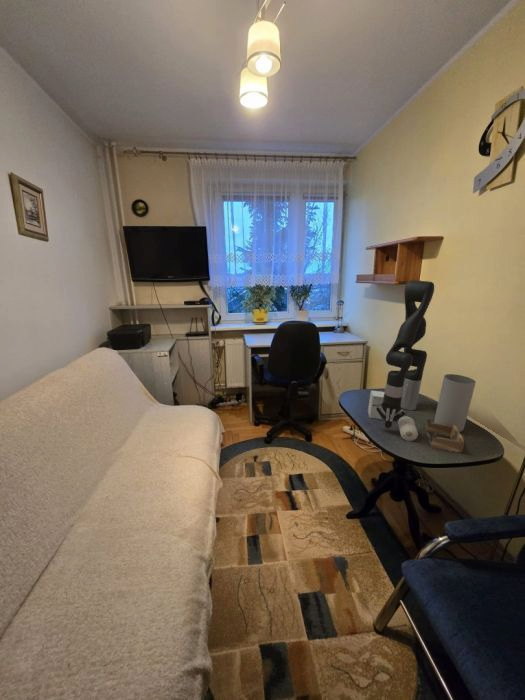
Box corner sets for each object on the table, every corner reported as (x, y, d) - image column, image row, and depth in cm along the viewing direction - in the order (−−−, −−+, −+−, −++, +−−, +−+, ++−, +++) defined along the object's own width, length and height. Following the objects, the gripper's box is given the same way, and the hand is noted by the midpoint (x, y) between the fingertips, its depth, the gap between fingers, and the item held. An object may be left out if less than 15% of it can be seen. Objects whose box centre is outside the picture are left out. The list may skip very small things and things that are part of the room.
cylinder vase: (450, 418, 148) (460, 373, 141) (470, 431, 136) (482, 383, 129) (428, 419, 146) (438, 374, 140) (446, 433, 135) (458, 384, 128)
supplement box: (369, 418, 147) (372, 395, 143) (367, 411, 154) (370, 389, 150) (384, 420, 145) (388, 397, 141) (382, 413, 152) (385, 391, 148)
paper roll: (397, 428, 138) (399, 415, 136) (413, 430, 136) (415, 417, 134) (399, 439, 129) (401, 425, 127) (416, 442, 127) (419, 428, 125)
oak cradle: (425, 430, 136) (427, 418, 134) (452, 435, 133) (455, 423, 131) (431, 447, 123) (434, 434, 121) (461, 453, 120) (465, 439, 118)
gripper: (408, 392, 131) (401, 426, 136) (377, 388, 135) (372, 420, 140) (410, 399, 124) (403, 434, 129) (378, 394, 128) (372, 428, 133)
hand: (387, 427), depth 134 cm, fingers closed
